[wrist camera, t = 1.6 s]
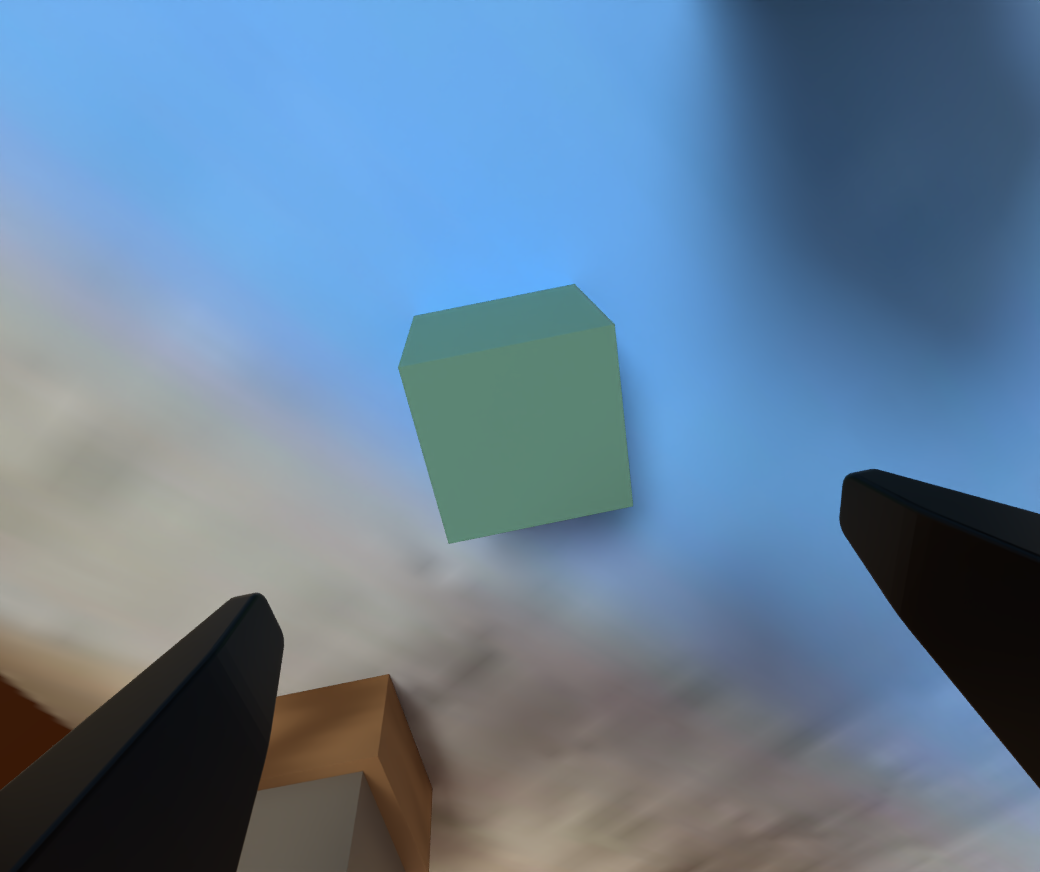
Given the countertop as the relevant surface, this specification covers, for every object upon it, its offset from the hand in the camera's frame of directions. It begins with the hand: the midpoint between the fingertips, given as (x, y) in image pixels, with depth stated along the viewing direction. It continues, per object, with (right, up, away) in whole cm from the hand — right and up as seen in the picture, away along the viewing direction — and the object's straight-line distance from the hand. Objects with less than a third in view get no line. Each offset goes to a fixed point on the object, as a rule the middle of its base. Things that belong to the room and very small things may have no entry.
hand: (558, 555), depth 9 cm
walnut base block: (-8, -11, +14) cm, 20 cm away
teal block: (-1, +4, +8) cm, 9 cm away
